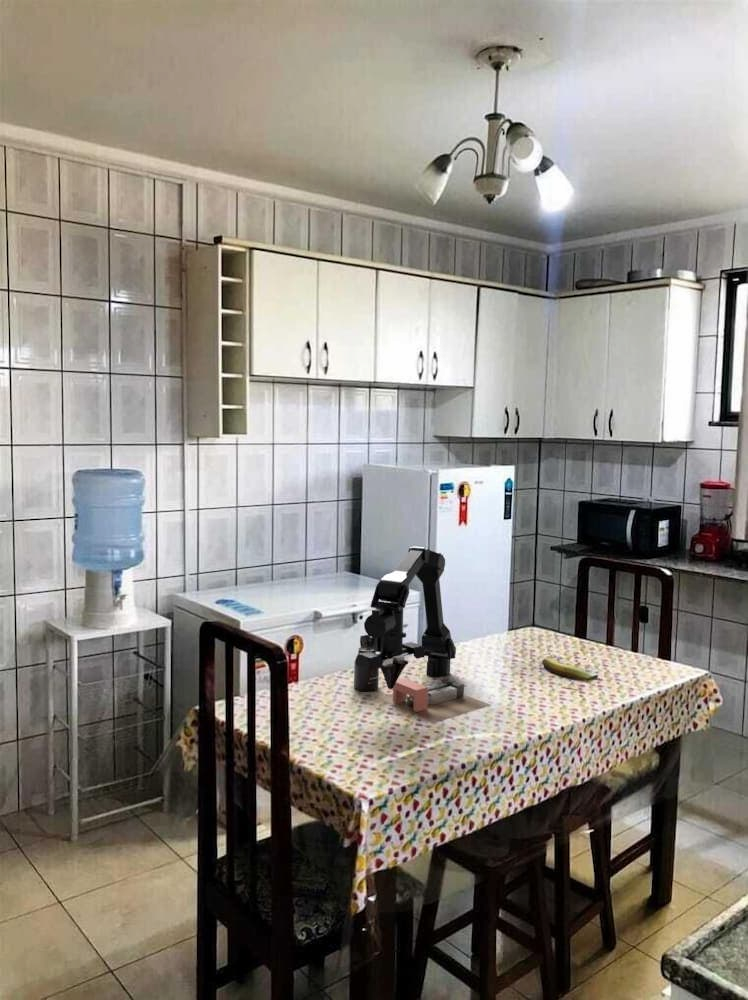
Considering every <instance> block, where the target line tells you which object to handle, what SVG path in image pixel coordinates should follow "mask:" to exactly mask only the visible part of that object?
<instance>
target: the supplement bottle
mask: <svg viewBox="0 0 748 1000" xmlns="http://www.w3.org/2000/svg"><path fill="white" fill-rule="evenodd" d="M364 652H372V653H375V654H377V653H376V651H374V649H371V650H369V651H366V648H361V646H359V647H358V653H357V655H358V654H360V653H364ZM379 669H380V668H377V669H373V670H368V669H366V668H363V667H361V666H358V665H356V658H355V659H354V668H353V671H354V672H353V690H355V691H356V692H359V693H374V692H377V691H378V690H379V680H380V679H379V677H380V676H379V674H380V672H379V671H380V670H379Z"/></svg>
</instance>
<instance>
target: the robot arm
mask: <svg viewBox="0 0 748 1000" xmlns="http://www.w3.org/2000/svg"><path fill="white" fill-rule="evenodd" d="M445 566H446V558H445V556H444V554H442V553H441V552H435V551H433V550H430V549H429V548H427V547H423V546H414V545H413V546H410V547H409V548H408V551H407V553H406V555H405V557H403V559H402V561H401V562H400V564H399V565H398V566H397V568H396V569H395V570H394V571H393V572H391V573H390V572H389V573H388V574H385V575H384V576H383V577H382V578H381V579H379V581H378V583H377V584H376V585H375V590H374V593H373V596H372V600H371V603H370V608H372V609H371V614H369V616H368V617H366V619H365V621H364V623H363V626H364V630H365V633H366V634H364V635H360V637H359V644H360V647H361V648H366V651H369V650H371V649H374V651H376V652H377V653H378V652H379V653H378V654H377V653H376V654H375V653H372V652H364V653H360V654H358V653H357V655H356V657H355V659H356V665H358V666H361V667H363V668H366V669H368V670H373V669H377V668H379V669H380V670H381V672H382V675H383V678H384V680H385V683H386V685H387V688H388V689H390V690H391V689H392V690H393V687H394V685H395V683H396V681H397V680H399V677H400V675H401V674H402V672H403V670H404V669H405V667H406V665H409V661H408V660H406V656H411V655H413V657H414V658H415V659H421V658H425V657H427V662H426V676H428V677H429V678H430V677H431V678H445V677H447V676H449V674H451V660H452V659H456V653H457V648H456V646H455V643H454V641H453V639H452V636H451V631H450V629H449V628H448V627H447V625H446V624H445V623H444V615H443V605H442V593H441V582H440V579H441V576H443V573H444V572H445ZM415 576H416V577H417V578H418V580H419V581H420V582H421V583H422V590H423V601H424V611H425V618H426V619H425V620H426V629H425V631H424V632H423V634H422V637H421V644H418V643H415V642H413V641H409V642H404V643H403V641H404V640H403V638H406V637H407V633H406V632H404V609H405V608H406V603H407V601H408V598H409V595H410V587H409V586H410V583H412V581H413V579H414V578H415Z"/></svg>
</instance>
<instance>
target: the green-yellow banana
mask: <svg viewBox="0 0 748 1000" xmlns="http://www.w3.org/2000/svg"><path fill="white" fill-rule="evenodd" d="M544 655H546V654H544ZM553 655H554V656H555V657H554V658H557V657H556V656H557V655H555V654H553ZM554 658H553V657H551V658H545V659H544V660H541V662H542V665H543V669H544V670H545V669H546V670H545V671H546V672H549V673H550V674H553V675H556V676H557V675H558V676H560V677H563V678H568V679H571V680H580V681H582V680H583V681H585V680H586V681H587V680H597V679H598V677H599V675H598V674H595V675H590V674H589V673H588V672H587V671H585V670H584V669H582V668H579V667H577V666H572V665H568V664H564V663H560V662H557V661H555V660H553V659H554ZM561 689H570V690H573V688H571V687H566V686H561ZM574 690H576V691H578V689H577V688H574ZM580 691H583V690H582V689H580Z"/></svg>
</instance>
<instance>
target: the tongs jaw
mask: <svg viewBox="0 0 748 1000" xmlns="http://www.w3.org/2000/svg"><path fill="white" fill-rule="evenodd" d="M464 691H465V684H464V683H462V682H458V681H456V682H455V681H454V683H451V686H449V687H445V688H441V689H437V690H433V691H429V692H428V705H433V704H437V703H441V702H445V701H448V700H452V699H456V698H461V697H464V695H465V694H464V693H465V692H464Z"/></svg>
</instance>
